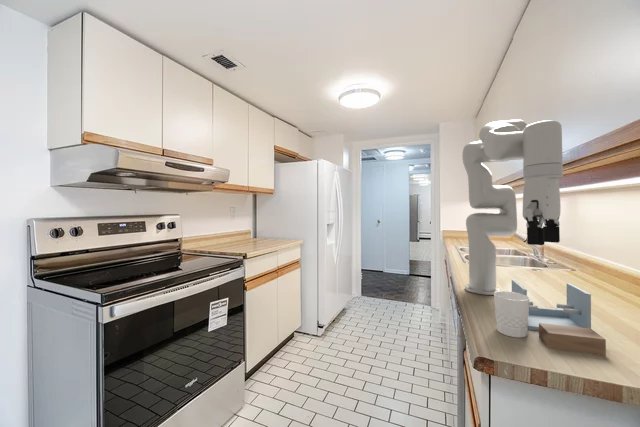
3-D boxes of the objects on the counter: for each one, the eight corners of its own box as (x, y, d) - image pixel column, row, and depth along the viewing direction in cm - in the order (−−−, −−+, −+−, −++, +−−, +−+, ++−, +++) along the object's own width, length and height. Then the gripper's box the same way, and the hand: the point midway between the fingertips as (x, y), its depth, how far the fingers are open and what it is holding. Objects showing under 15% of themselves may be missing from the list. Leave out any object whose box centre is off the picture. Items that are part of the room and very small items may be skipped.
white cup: (523, 342, 69) (522, 302, 69) (489, 331, 76) (488, 294, 76) (534, 333, 74) (534, 296, 74) (501, 323, 80) (501, 289, 80)
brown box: (538, 338, 72) (538, 323, 72) (590, 344, 68) (590, 328, 68) (548, 349, 66) (548, 332, 66) (605, 357, 62) (605, 339, 62)
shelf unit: (511, 314, 87) (511, 279, 87) (570, 320, 82) (569, 283, 82) (523, 328, 77) (523, 289, 77) (591, 336, 72) (590, 294, 71)
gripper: (538, 177, 76) (539, 240, 75) (509, 172, 66) (510, 244, 66) (574, 174, 69) (575, 242, 69) (547, 168, 60) (549, 247, 60)
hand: (543, 243), depth 68 cm, fingers open, 9 cm apart
